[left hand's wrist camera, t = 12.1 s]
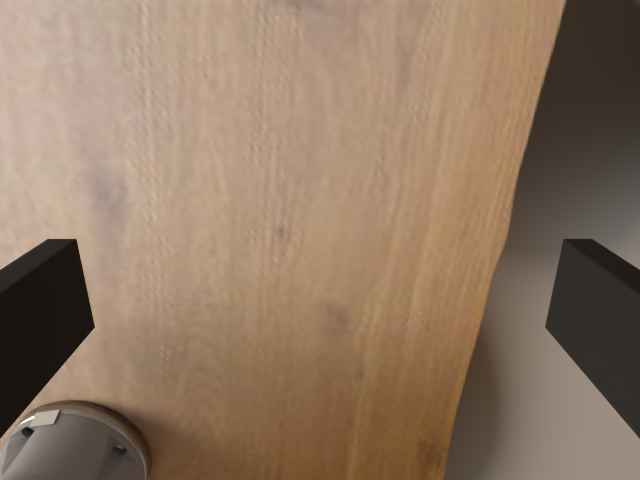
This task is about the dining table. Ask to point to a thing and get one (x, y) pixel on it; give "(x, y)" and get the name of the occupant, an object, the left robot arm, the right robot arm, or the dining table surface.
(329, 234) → the dining table surface
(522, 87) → the dining table surface
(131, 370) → the dining table surface
